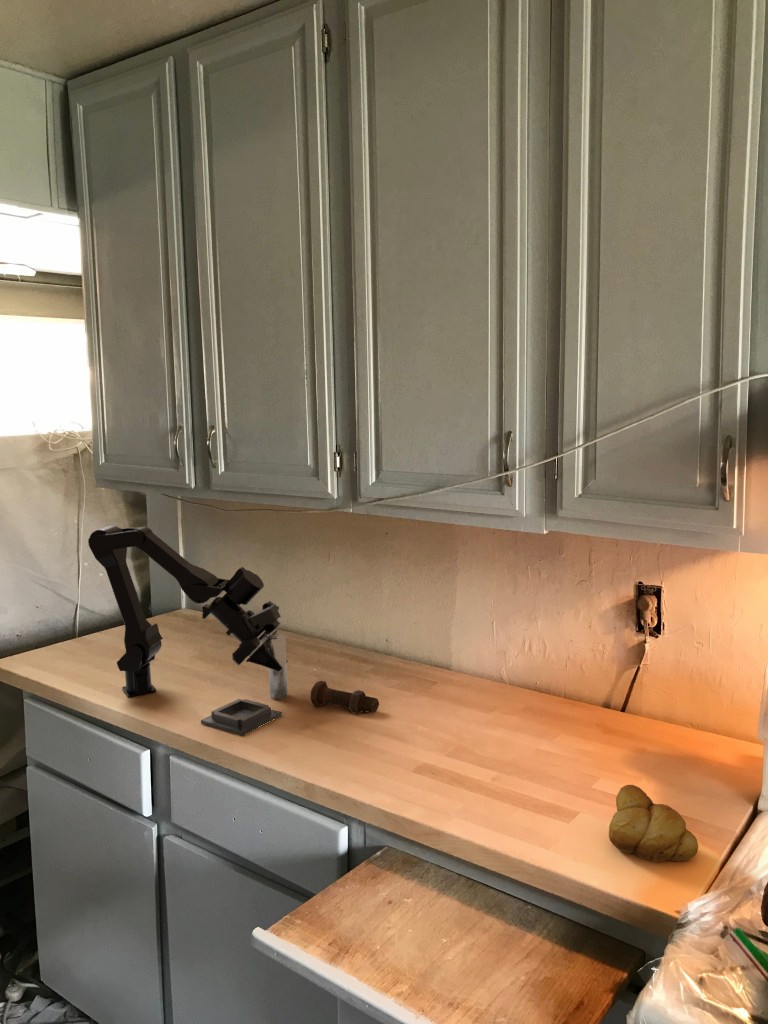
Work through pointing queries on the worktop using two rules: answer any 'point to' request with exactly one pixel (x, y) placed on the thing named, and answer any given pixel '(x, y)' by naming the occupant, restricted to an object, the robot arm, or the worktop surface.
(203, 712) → the worktop surface
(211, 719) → the block
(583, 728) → the worktop surface
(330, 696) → the bolt
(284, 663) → the shiny tapered metal piece
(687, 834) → the bread roll
